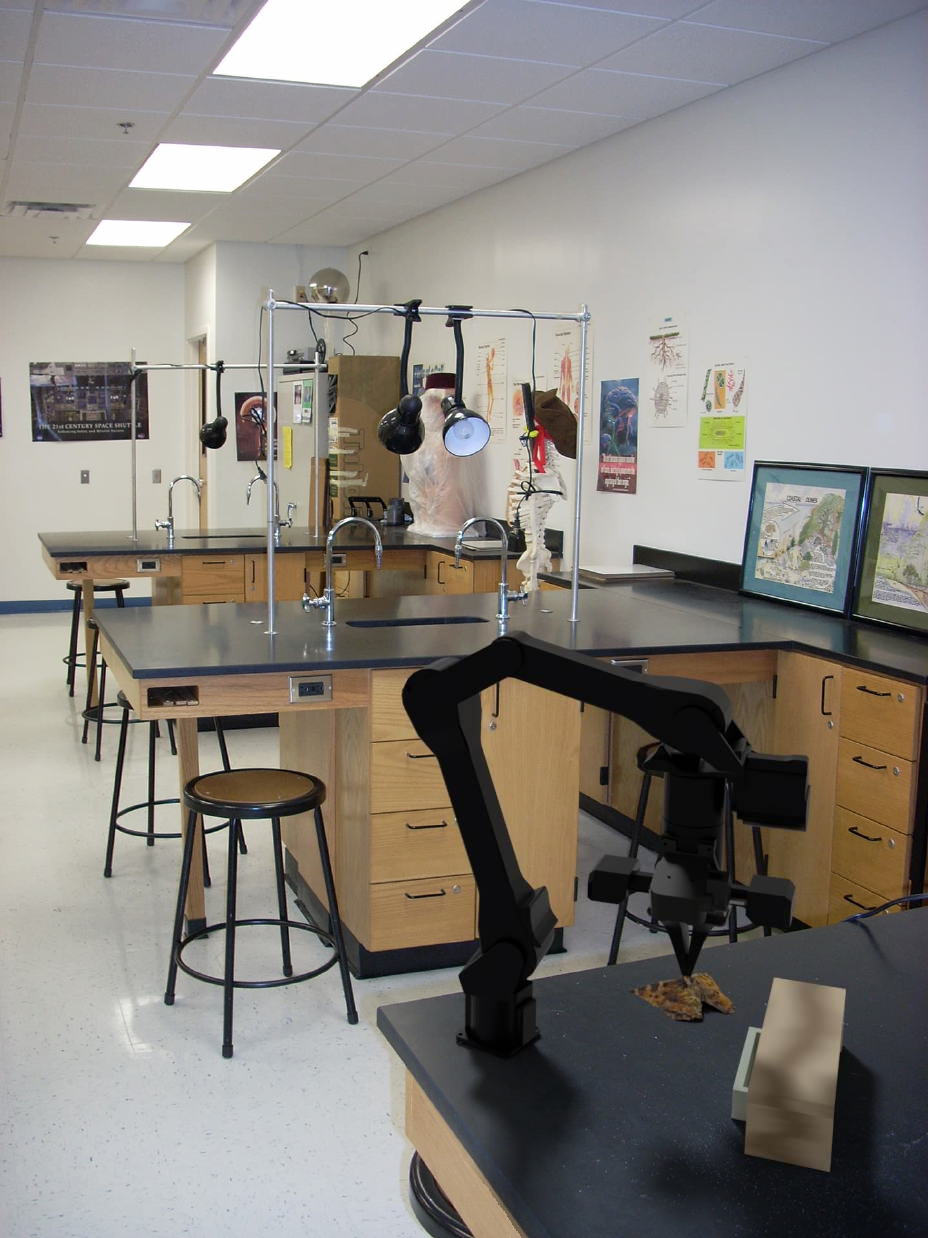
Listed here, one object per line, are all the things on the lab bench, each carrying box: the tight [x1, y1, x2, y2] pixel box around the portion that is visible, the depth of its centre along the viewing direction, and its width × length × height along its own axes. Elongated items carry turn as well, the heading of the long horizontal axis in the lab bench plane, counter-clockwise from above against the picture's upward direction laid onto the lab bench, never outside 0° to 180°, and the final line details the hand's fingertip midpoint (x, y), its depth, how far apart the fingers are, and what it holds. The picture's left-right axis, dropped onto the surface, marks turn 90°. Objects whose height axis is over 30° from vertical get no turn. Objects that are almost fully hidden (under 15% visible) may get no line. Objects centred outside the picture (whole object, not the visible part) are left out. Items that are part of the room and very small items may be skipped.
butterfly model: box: [629, 972, 737, 1022], centre depth 128 cm, size 9×12×3 cm
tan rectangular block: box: [744, 977, 847, 1173], centre depth 110 cm, size 7×22×6 cm, turn 160°
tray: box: [730, 1026, 762, 1122], centre depth 111 cm, size 6×12×3 cm, turn 160°
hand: (687, 975), depth 112 cm, fingers closed
